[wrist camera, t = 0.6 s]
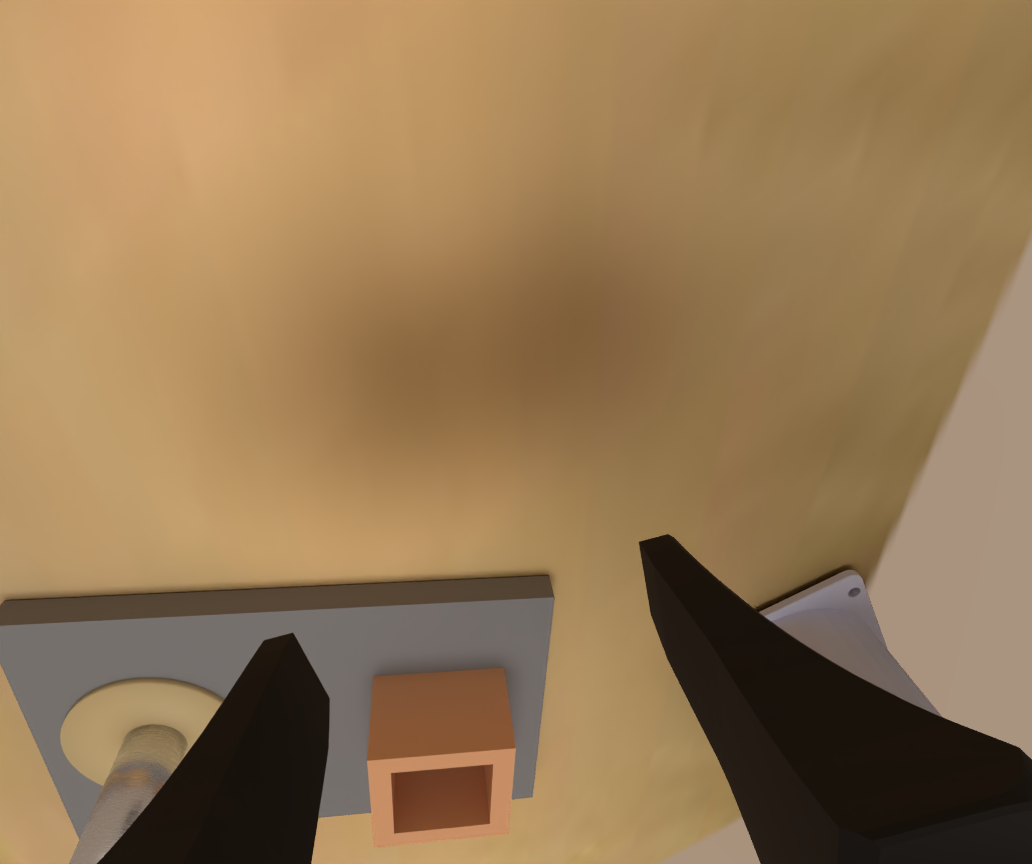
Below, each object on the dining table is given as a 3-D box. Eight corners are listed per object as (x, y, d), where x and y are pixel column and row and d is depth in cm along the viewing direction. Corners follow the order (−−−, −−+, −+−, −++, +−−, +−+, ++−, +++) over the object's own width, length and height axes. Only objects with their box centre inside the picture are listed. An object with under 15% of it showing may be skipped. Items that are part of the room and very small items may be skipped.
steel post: (211, 713, 26) (159, 872, 21) (167, 736, 26) (105, 898, 21) (171, 682, 25) (106, 842, 20) (125, 706, 25) (50, 870, 20)
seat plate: (548, 575, 25) (555, 603, 24) (528, 772, 31) (533, 803, 29) (4, 600, 22) (-22, 633, 21) (92, 811, 28) (76, 847, 27)
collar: (504, 667, 25) (516, 748, 22) (498, 750, 28) (508, 833, 25) (373, 676, 25) (366, 760, 22) (379, 760, 27) (374, 847, 24)
